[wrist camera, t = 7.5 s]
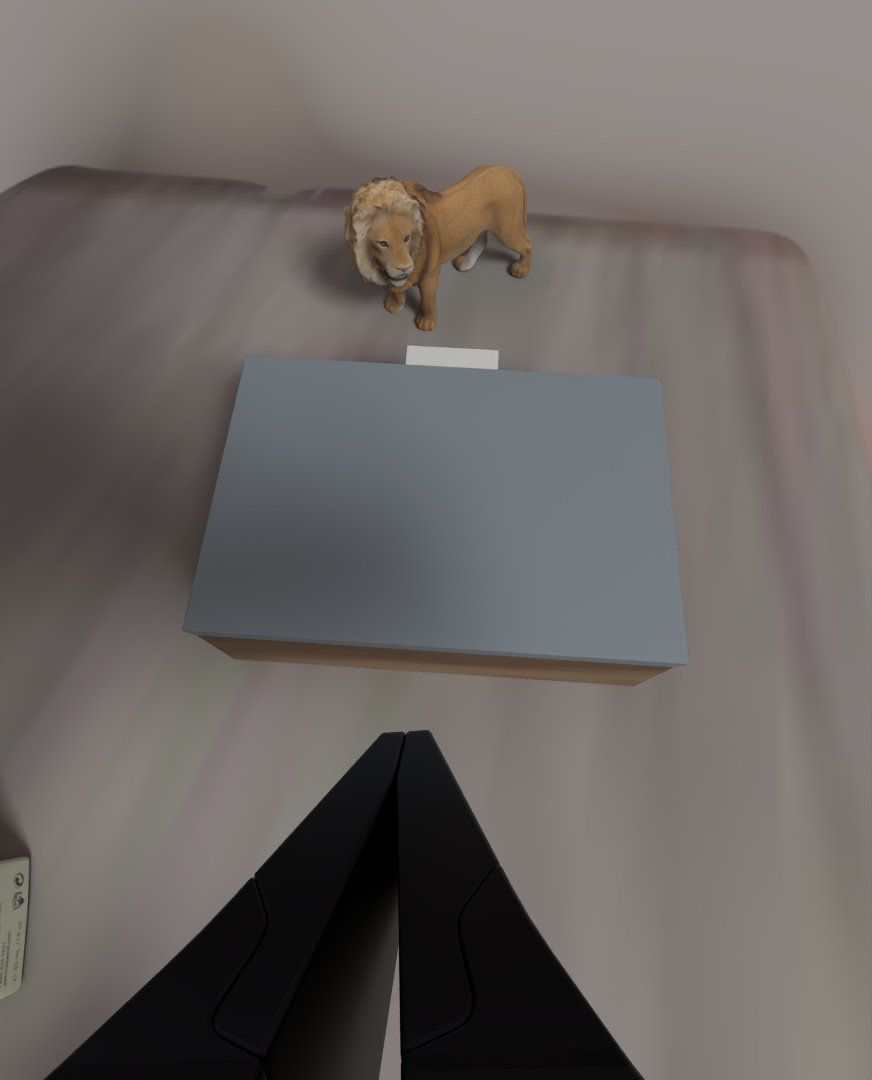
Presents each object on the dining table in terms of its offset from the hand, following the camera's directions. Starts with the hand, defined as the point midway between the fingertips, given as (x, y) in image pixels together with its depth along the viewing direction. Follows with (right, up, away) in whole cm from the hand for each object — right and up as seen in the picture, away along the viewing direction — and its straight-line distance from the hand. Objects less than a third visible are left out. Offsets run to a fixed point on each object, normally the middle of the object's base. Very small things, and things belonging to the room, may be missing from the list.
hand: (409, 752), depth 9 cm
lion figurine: (+1, +19, +25) cm, 31 cm away
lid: (+1, +6, +12) cm, 14 cm away
